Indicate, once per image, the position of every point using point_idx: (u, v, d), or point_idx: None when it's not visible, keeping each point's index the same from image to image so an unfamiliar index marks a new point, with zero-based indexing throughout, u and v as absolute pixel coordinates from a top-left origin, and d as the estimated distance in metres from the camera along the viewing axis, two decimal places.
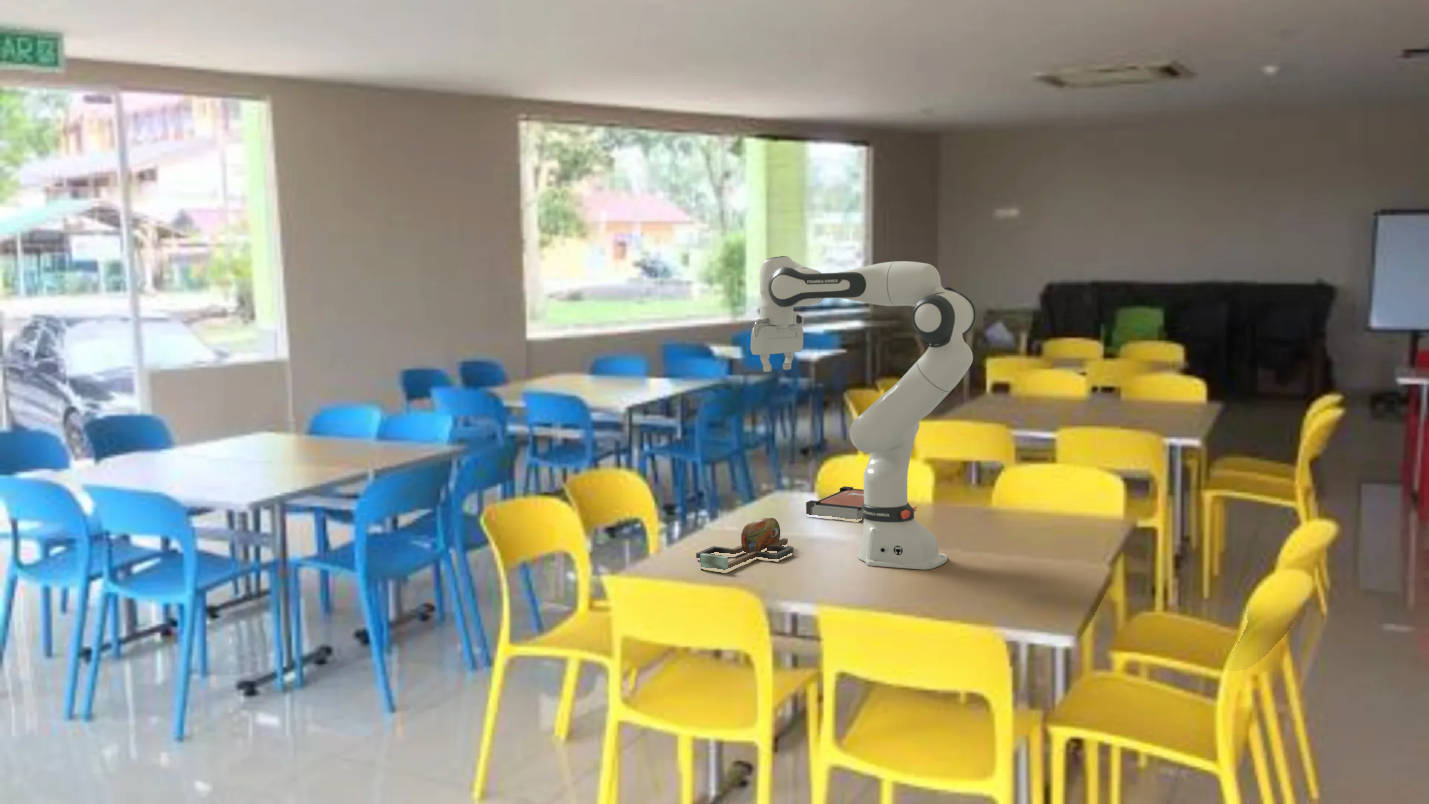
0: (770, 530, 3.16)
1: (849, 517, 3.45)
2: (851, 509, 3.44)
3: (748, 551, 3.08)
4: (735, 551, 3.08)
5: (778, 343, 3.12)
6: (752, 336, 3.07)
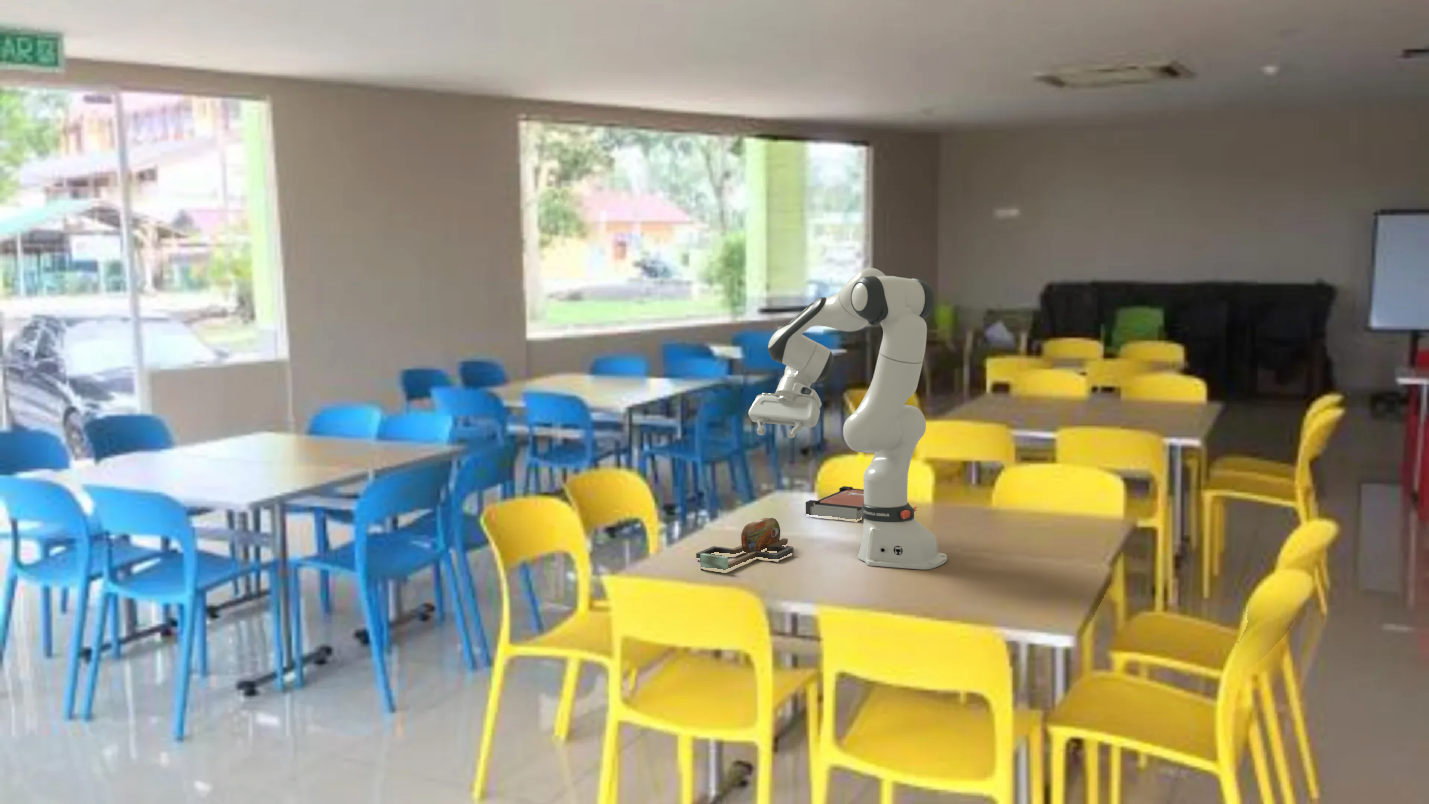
0: (770, 530, 3.16)
1: (848, 517, 3.46)
2: (850, 509, 3.44)
3: (748, 551, 3.08)
4: (735, 551, 3.08)
5: (775, 409, 3.29)
6: None
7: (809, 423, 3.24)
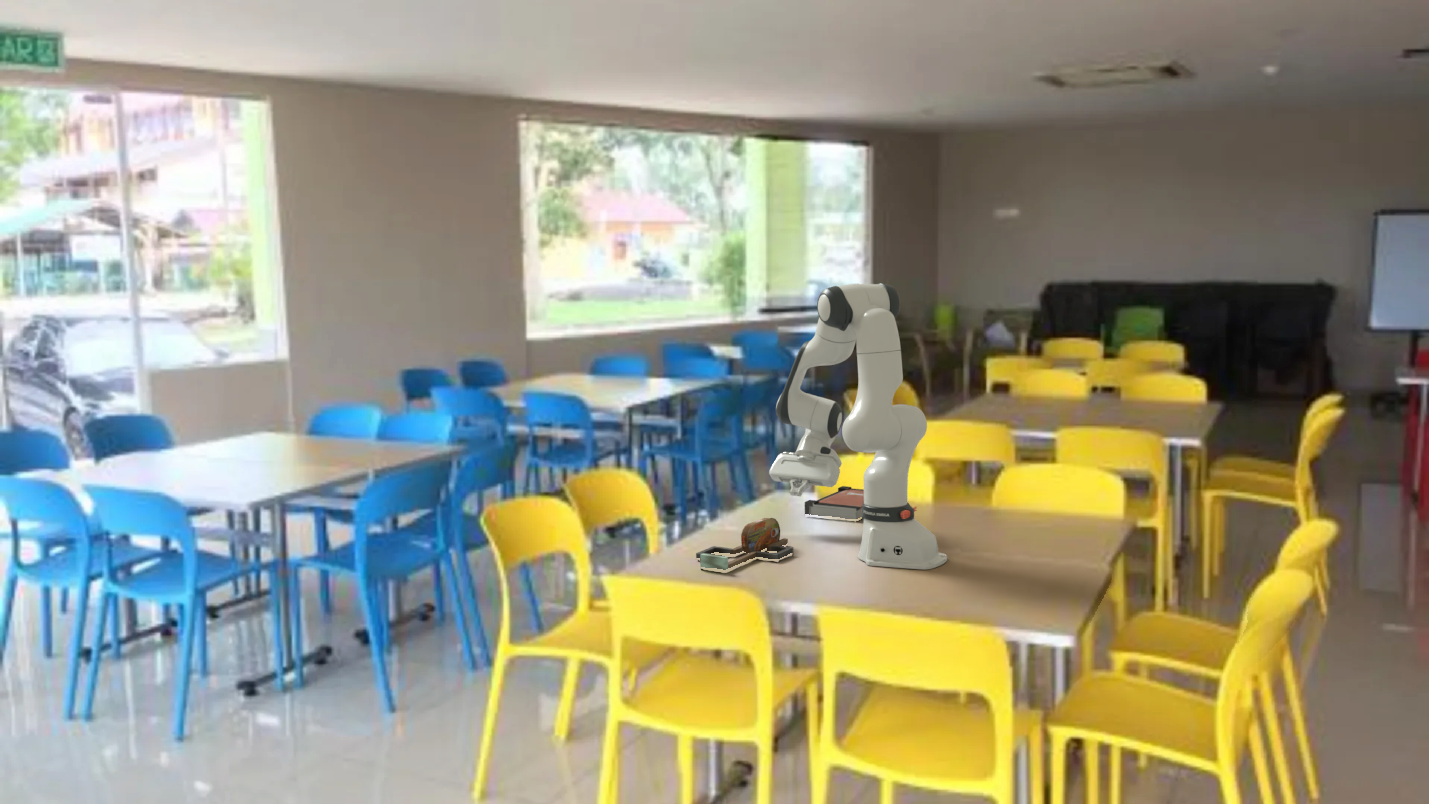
0: (770, 530, 3.16)
1: (848, 517, 3.46)
2: (850, 509, 3.45)
3: (748, 551, 3.08)
4: (735, 551, 3.08)
5: (795, 469, 3.32)
6: None
7: (828, 483, 3.26)
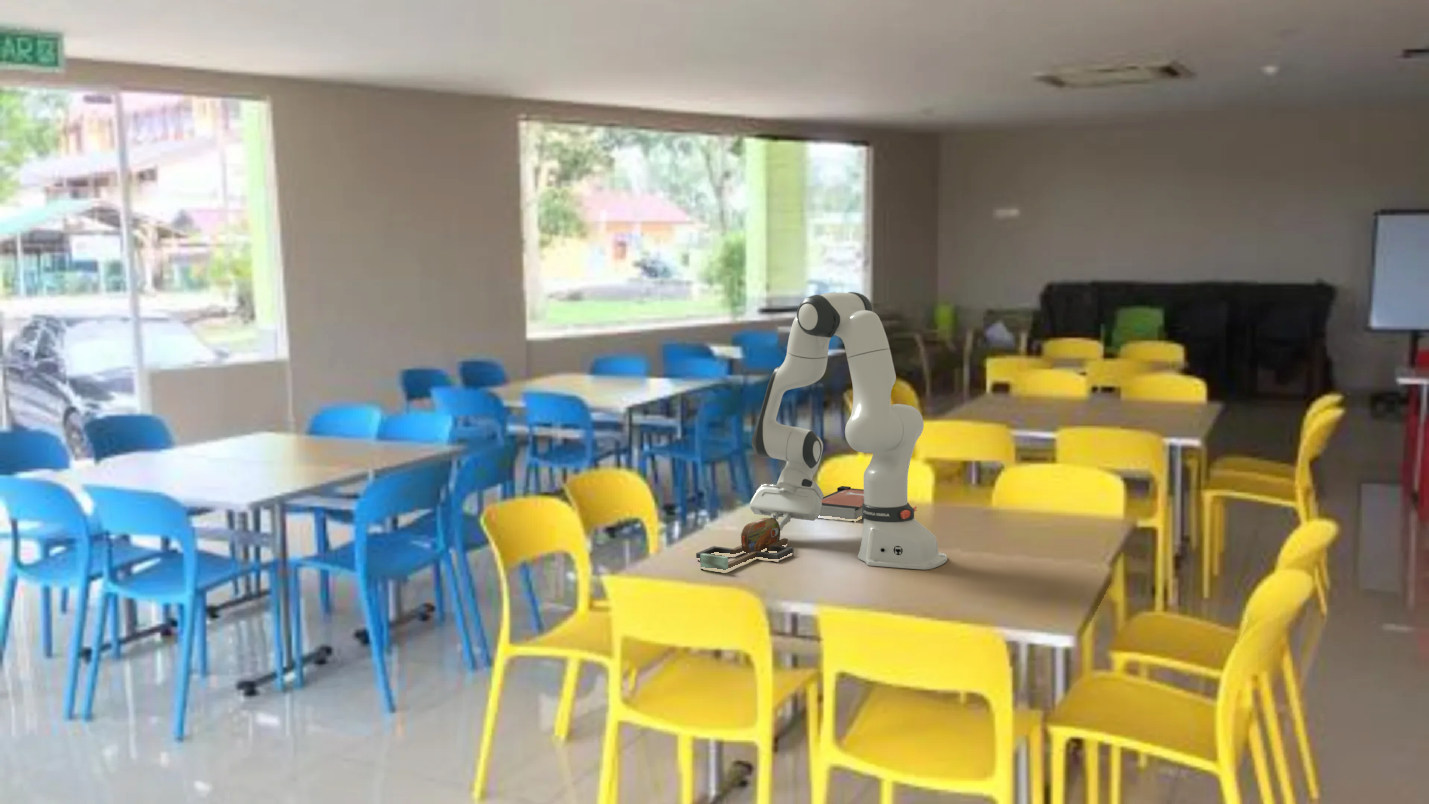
0: (770, 530, 3.16)
1: (846, 517, 3.46)
2: (848, 509, 3.45)
3: (748, 551, 3.08)
4: (735, 551, 3.08)
5: (776, 502, 3.24)
6: None
7: (809, 517, 3.18)
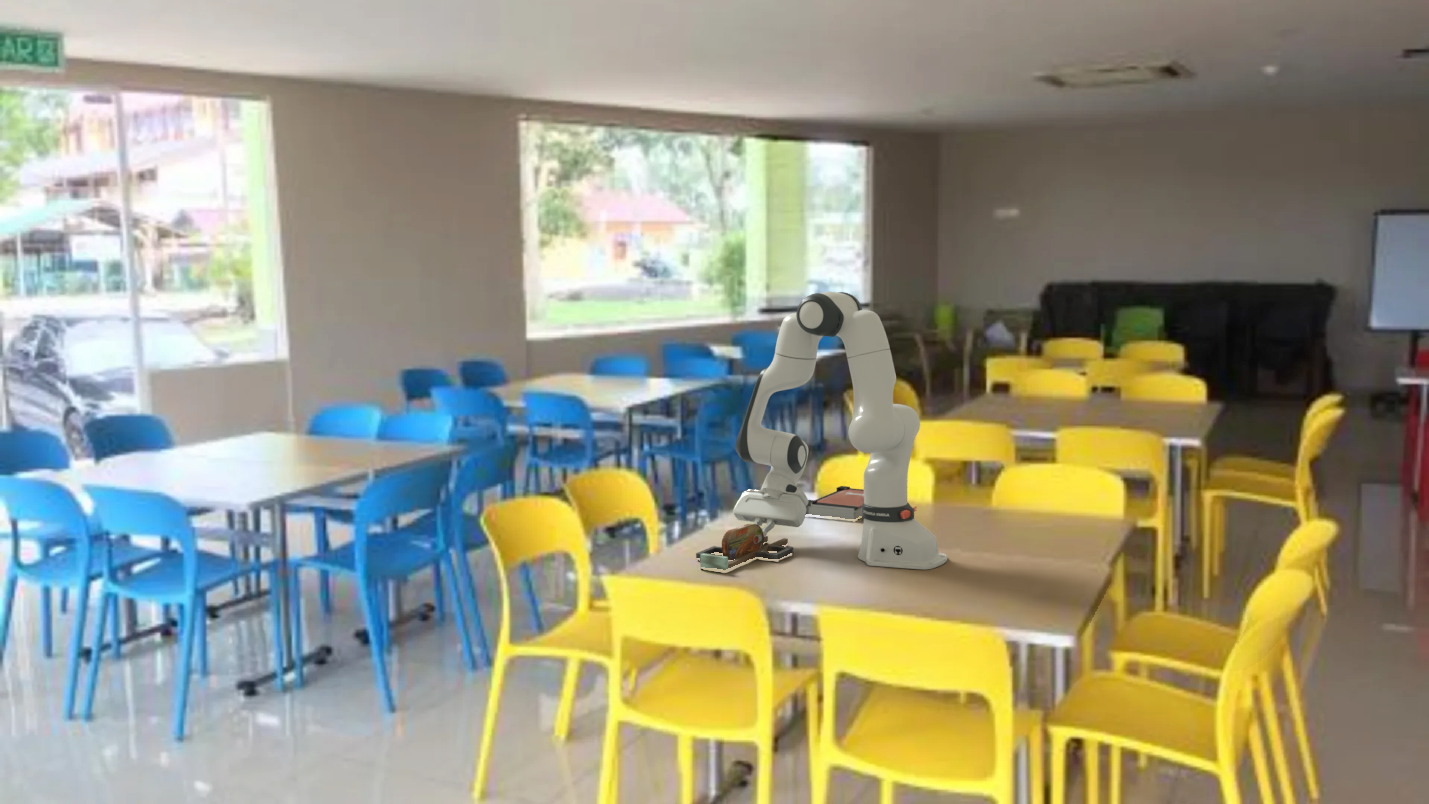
0: (753, 536, 3.09)
1: (846, 516, 3.46)
2: (848, 509, 3.45)
3: (729, 558, 3.02)
4: None
5: (760, 507, 3.17)
6: None
7: (794, 523, 3.11)
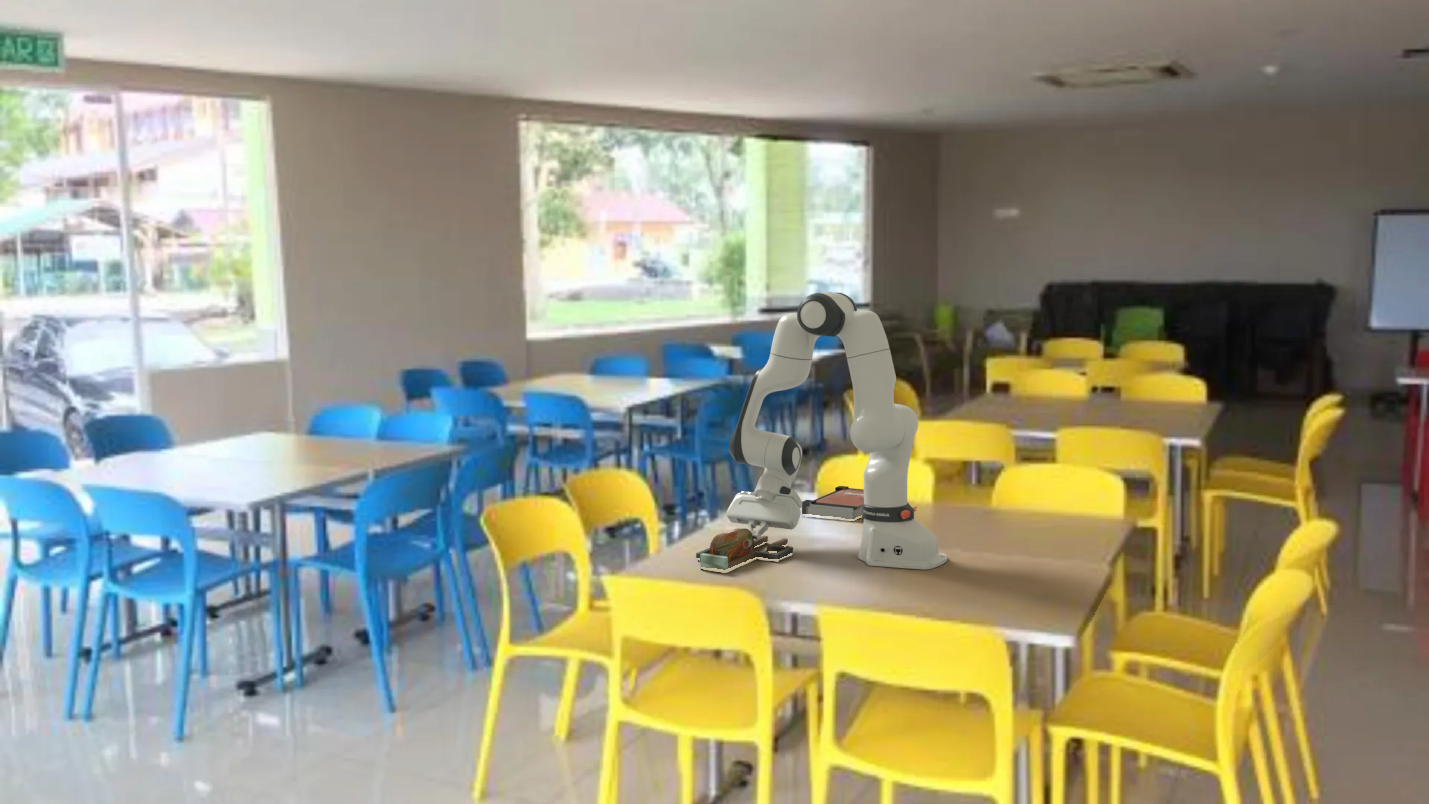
0: (742, 541, 3.04)
1: (845, 516, 3.46)
2: (847, 508, 3.45)
3: None
4: None
5: (754, 510, 3.14)
6: None
7: (788, 526, 3.08)
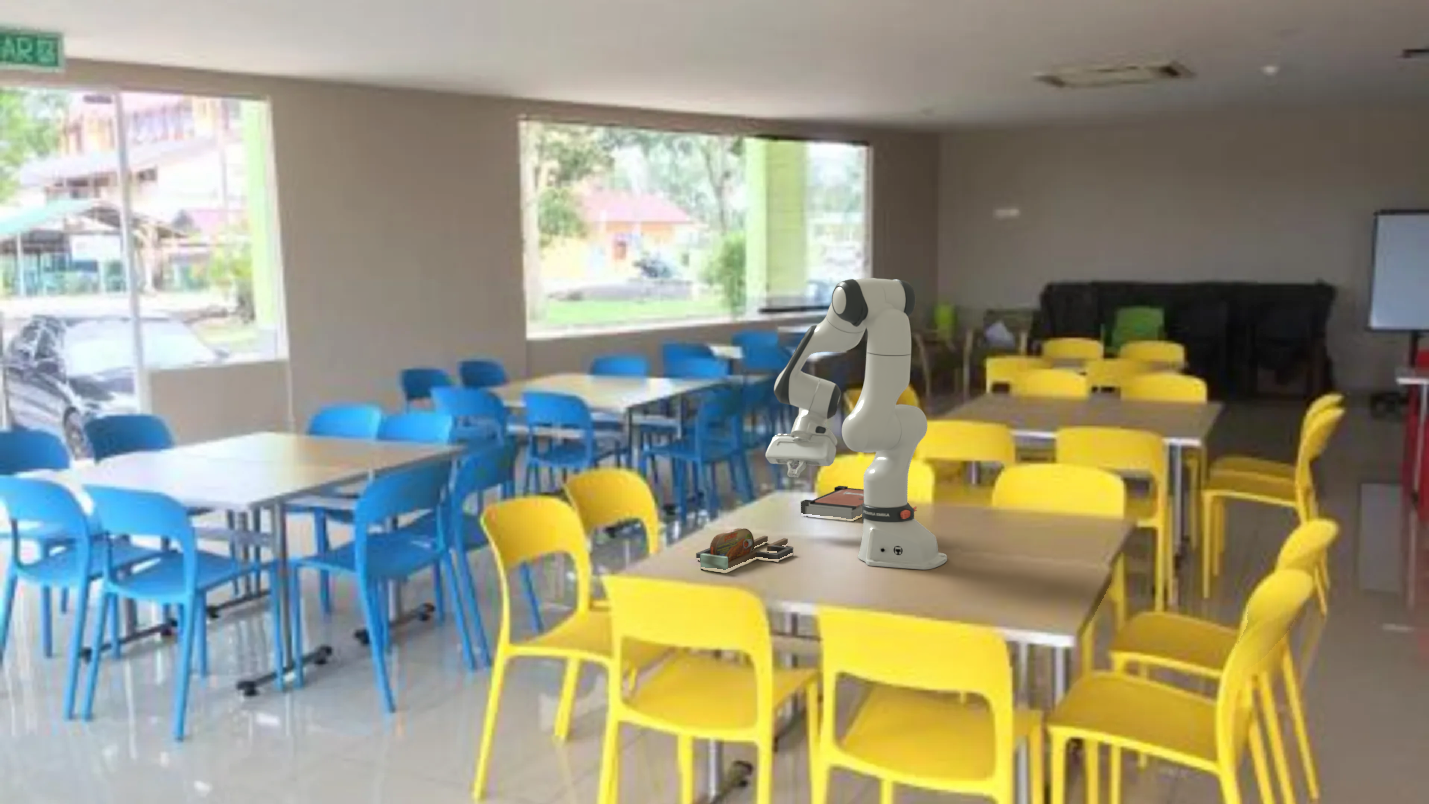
0: (742, 541, 3.04)
1: (843, 516, 3.47)
2: (845, 508, 3.45)
3: None
4: None
5: (791, 450, 3.31)
6: None
7: (825, 462, 3.25)
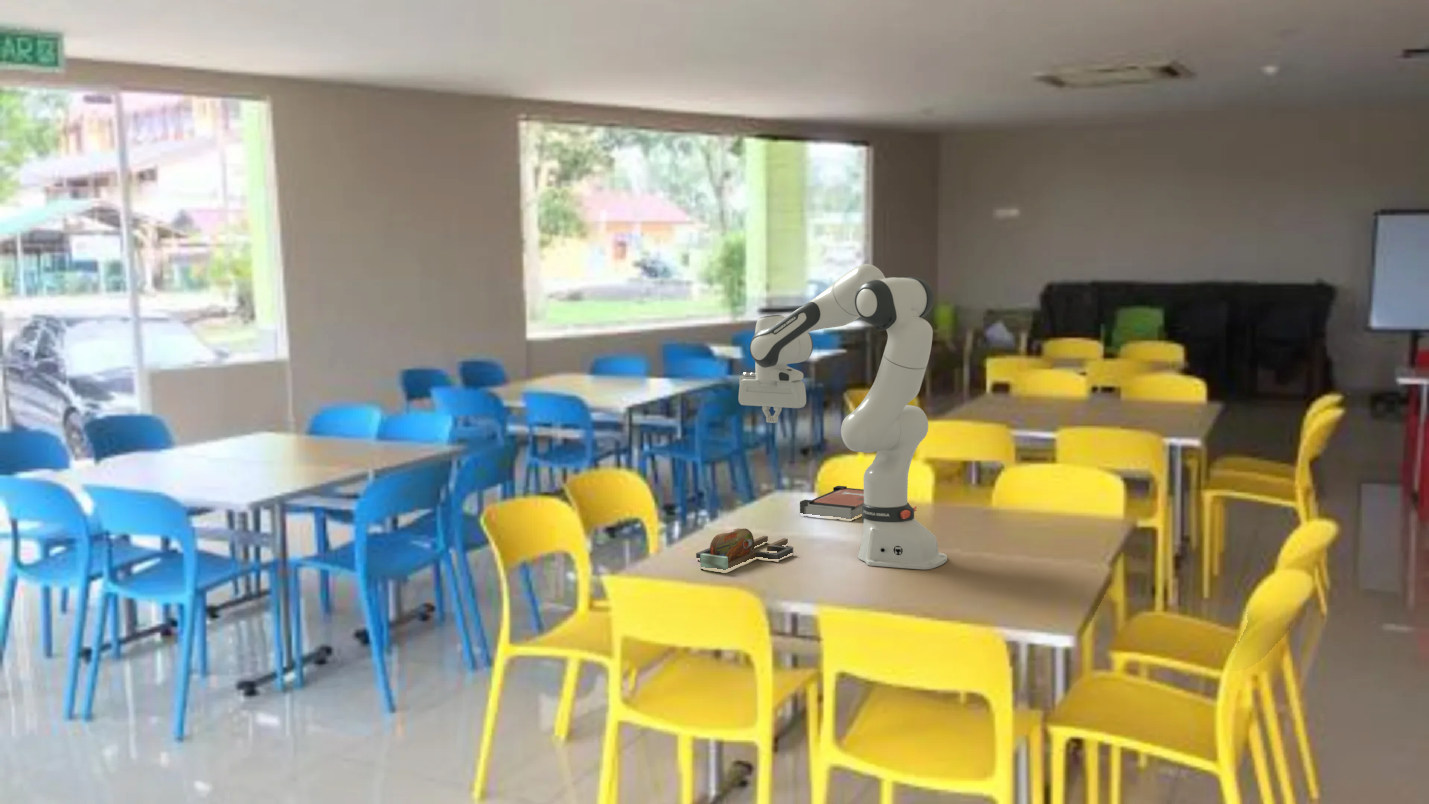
0: (742, 541, 3.04)
1: (843, 516, 3.47)
2: (845, 508, 3.46)
3: None
4: None
5: (762, 397, 3.31)
6: None
7: (799, 407, 3.26)
